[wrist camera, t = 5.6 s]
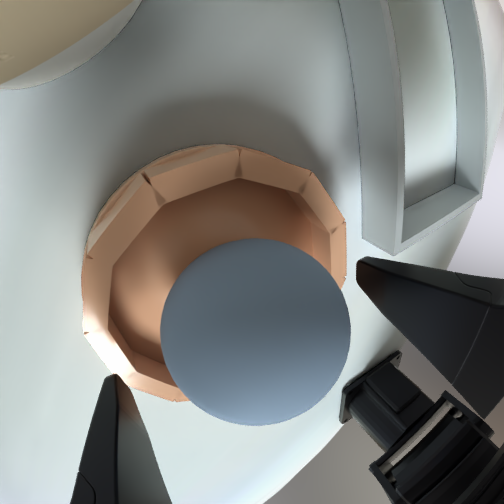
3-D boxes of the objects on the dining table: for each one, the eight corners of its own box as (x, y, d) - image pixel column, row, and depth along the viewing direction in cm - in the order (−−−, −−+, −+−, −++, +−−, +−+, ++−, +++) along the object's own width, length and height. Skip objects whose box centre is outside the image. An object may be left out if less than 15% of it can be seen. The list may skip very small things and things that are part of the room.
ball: (275, 190, 10) (404, 260, 6) (292, 309, 13) (377, 393, 9) (119, 251, 9) (152, 391, 4) (176, 364, 12) (231, 479, 7)
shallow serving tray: (457, 188, 18) (481, 198, 16) (362, 238, 15) (393, 256, 13) (442, -15, 10) (469, -16, 8) (321, -61, 7) (356, -76, 5)
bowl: (322, 312, 16) (346, 333, 14) (148, 396, 13) (158, 428, 11) (305, 117, 11) (341, 121, 9) (35, 208, 8) (20, 230, 6)
